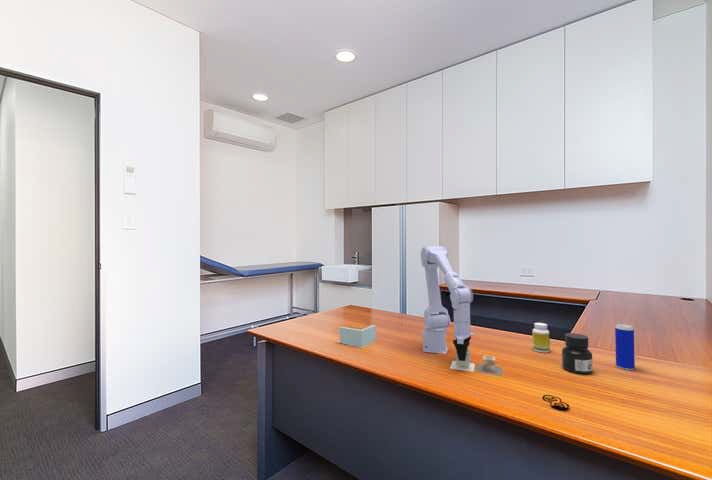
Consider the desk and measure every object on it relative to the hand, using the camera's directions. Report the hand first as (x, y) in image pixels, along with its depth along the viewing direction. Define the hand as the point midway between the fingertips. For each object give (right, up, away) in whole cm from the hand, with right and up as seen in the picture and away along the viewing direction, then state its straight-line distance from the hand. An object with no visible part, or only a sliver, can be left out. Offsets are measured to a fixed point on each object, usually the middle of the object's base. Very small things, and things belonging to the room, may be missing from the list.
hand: (462, 357), depth 118 cm
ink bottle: (+39, -3, -4) cm, 40 cm away
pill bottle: (+38, -3, +16) cm, 42 cm away
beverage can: (+57, -3, -3) cm, 57 cm away
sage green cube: (0, -2, 0) cm, 2 cm away
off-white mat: (0, -3, 0) cm, 3 cm away
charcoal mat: (+8, -3, -4) cm, 10 cm away
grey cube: (+8, -3, -4) cm, 9 cm away
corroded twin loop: (+17, -4, -27) cm, 32 cm away
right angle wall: (-38, -5, +32) cm, 50 cm away
